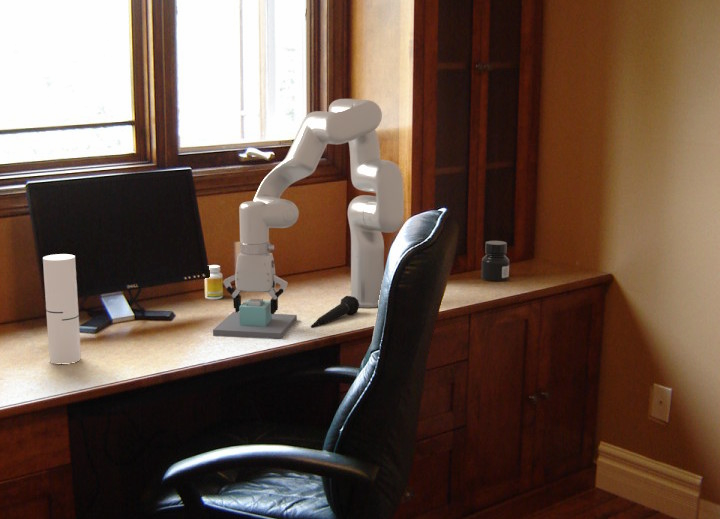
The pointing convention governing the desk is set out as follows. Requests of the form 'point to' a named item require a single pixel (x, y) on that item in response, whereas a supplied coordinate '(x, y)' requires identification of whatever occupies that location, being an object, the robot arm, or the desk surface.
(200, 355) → the desk surface
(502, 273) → the ink bottle
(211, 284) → the supplement bottle
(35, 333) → the desk surface
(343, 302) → the microphone
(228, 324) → the post board
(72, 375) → the desk surface
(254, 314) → the teal hollow cube
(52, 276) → the cylindrical container
